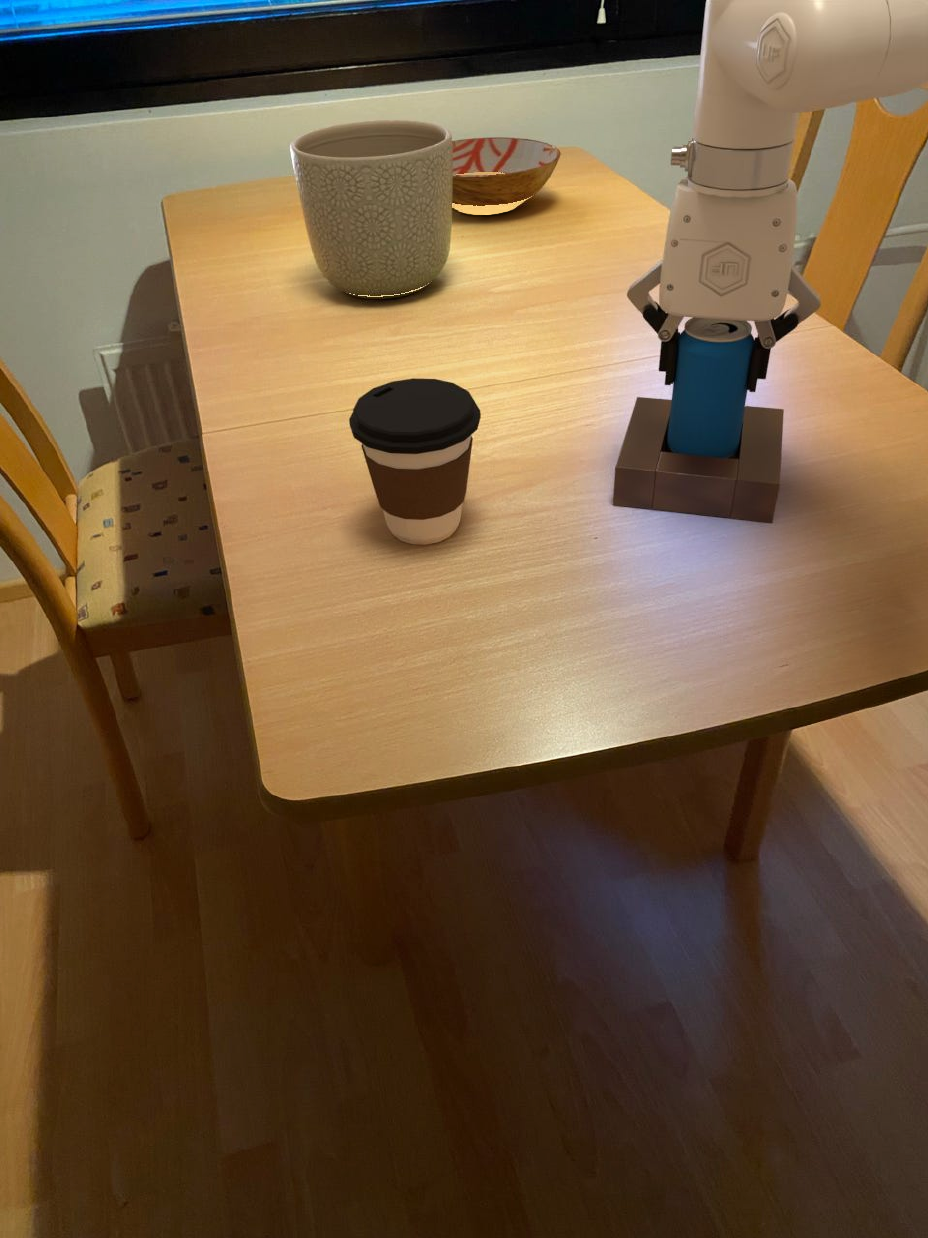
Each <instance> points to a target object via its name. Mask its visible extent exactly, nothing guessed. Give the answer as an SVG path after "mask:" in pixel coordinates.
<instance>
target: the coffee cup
mask: <svg viewBox="0 0 928 1238" xmlns="http://www.w3.org/2000/svg"><path fill="white" fill-rule="evenodd" d="M481 418H482V415H481V409H480V408H479V406H478V404H477V402H476V400H475V399H474V398H473V396H472V394H471V392H470V391H469V390H467V389H465V388H463V387H462V386H459V385H458V384H456V383H455V382H452V381H445V380H441V379H437V378H416V377H415V378H407V379H399V380H394V381H390V382H387V383H384V384H381V385H378V386H376V387H373V388H372V389H370V390H368V391H367V392H366V393H364V394H363V395H361V396H360V397H358V399H357V401H356V402H355V405H354V407H353V408H352V413H351V415H350V416H349V419H348V421H349V423H348V424H349V429H350V431H351V434H352V437H353V438H354V439H355V440H356V441H358V442H359V443H361V446H360V447H361V449H362V453H363V456H364V459H365V463H366V466H367V469H368V473H369V477H370V480H371V483H372V487H373V489H374V492H375V496H376V499H377V502H378V504H379V507H380V509H382V512H383V516H384V519H385V522H386V525H387V528H388V530H389V531H390V532H391V534H392V535H393V536H394V537H396V538H397V539H398V540H399V541H401V542H404V543H407V544H411V545H420V546H421V545H422V546H426V545H432V544H437V543H440V542H442V541H444V540H447V539H449V538H450V537H451V536H452V535H453V534H454V533H455V532H456V531H457V529H458V527H459V525H460V523H461V518H462V512H463V505H464V502H465V498H466V494H467V489H468V480H469V473H470V466H471V465H470V464H471V457H472V448H473V442H474V439H473V436H472V435H473V434H475V432H477V430H478V429H479V425H480V421H481Z"/></svg>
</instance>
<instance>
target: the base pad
mask: <svg viewBox="0 0 928 1238" xmlns="http://www.w3.org/2000/svg"><path fill="white" fill-rule="evenodd" d="M671 401H672V399H666V398H656V397H655V398H654V397H643V396H642V397H641V396H637V397H636V400H635V403H634V406H633V409H632V411H631V416H630V419H629V422H628V425H627V428H626V431H625V435H624V438H623V441H622V444H621V448H620V450H619V454H618V457H617V460H616V464H615V467H614V479H613V495H612V506H619V507H629V508H637V509H638V508H639V509H647V510H655V511H662V512H663V511H665V512H674V513H683V514H692V515H699V516H708V517H717V518H726V519H734V520H743V521H750V522H759V523H769V524H772V523H773V522H774V517H775V511H776V506H777V501H778V495H779V491H780V486H781V470H782V451H783V450H782V449H783V433H784V431H783V430H784V416H785V415H784V411H785V409H784V408H776V407H775V408H774V407H773V408H772V407H763V406H750V405H745V409H744V415H743V421H742V427H741V434H740V440H739V446H738V449H737V451H736V452H735V453H734V454H733V455H731V456H730V457H727V458H720V457H710V456H700V455H690V454H680V453H674V452H673V451H672V450H671V449H670V448H669V446H668V443H667V439H668V430H669V420H670V411H671Z"/></svg>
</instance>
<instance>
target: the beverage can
mask: <svg viewBox="0 0 928 1238" xmlns="http://www.w3.org/2000/svg"><path fill="white" fill-rule="evenodd" d="M752 330H753V326H752V324H751V323H750V321H741V320H724V319H708V318H693V317H690V318H689V319H688V320H687V321H685V323H684V329H683V330H682V331H681V332H680V336H679V338H678V346H677V356H676V365H675V375H674V382H673V384H672V393H671V400H672V401H671V411H670V420H669V430H668V439H667V443H668V446H669V448H670V449H671V450H672V451H673V452H674V453H680V454H690V455H700V456H710V457H720V458H727V457H730V456H731V455H733V454H734V453H735V452H736V451H737V449H738V446H739V440H740V434H741V427H742V421H743V415H744V409H745V406H746V402H747V396H748V390H747V387H748V381H749V374H750V368H751V362H752V355H753V349H754V344H755V341H754V340H755V337H754V336H753V334H752V332H753V331H752Z"/></svg>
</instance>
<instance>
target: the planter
mask: <svg viewBox="0 0 928 1238" xmlns="http://www.w3.org/2000/svg"><path fill="white" fill-rule="evenodd" d="M452 141H453V139H452V132H451V131H450V130H449V129H448V128H446V127H445V126H442V125H440V124H437V123H432V122H427V121H426V122H425V121H419V120H407V119H379V120H378V119H377V120H364V121H363V120H362V121H355V122H347V123H340V124H334V125H330V126H329V125H328V126H325V127H320V128H317V129H314V130H310V131H308V132H305V133H303V134H301V135H299V136H296V137H295V138H294V139H293V140H292V141H291V142H290V145H289V147H290V155H291V162H292V167H293V173H294V178H295V184H296V188H297V193H298V197H299V203H300V206H301V212H302V215H303V221H304V225H305V230H306V233H307V234H306V235H307V238H308V241H309V245H310V249H311V252H312V255H313V258H314V261H315V264H316V266H317V269H318V270H319V272H320V274H321V275H322V277H323V278H325V280H327V281H328V282H329V283H330V284H331V285H332V286H333V287H334V288H336V289H338V290H339V291H341V290H342V291H341V292H343V291H344V292H343V293H344V294H346V295H350V296H352V297H356V298H360V299H367V300H385V299H395V298H401V297H405V296H409V295H412V294H415V293H417V292H419V291H421V290H423V289H424V288H426V287H427V286H429V285H430V284H431V283H432V282H433V281H435V280H436V279H437V277H438V276H439V275H440V274H441V272H442V271H443V269H444V268H445V266H446V263H447V261H448V258H449V255H450V249H451V240H452V224H453V223H452V222H453V220H452V219H453V209H452V190H453V157H452ZM431 281H432V282H431ZM430 282H431V283H430ZM428 283H430V284H428ZM427 284H428V285H427ZM425 285H427V286H425ZM423 286H425V287H423ZM420 287H423V288H421V289H419V290H416V291H413V292H409V291H411V290H415V289H418V288H420ZM346 292H347V293H346ZM405 292H409V293H405ZM349 293H351V294H349ZM401 293H405V294H401ZM353 294H355V295H353ZM394 294H400V295H394ZM358 295H368V296H369V295H370V296H381V295H394V296H383V297H367V296H358Z"/></svg>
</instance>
